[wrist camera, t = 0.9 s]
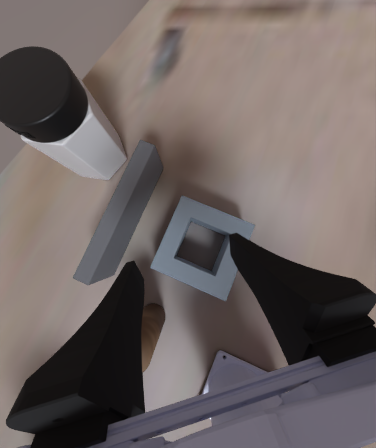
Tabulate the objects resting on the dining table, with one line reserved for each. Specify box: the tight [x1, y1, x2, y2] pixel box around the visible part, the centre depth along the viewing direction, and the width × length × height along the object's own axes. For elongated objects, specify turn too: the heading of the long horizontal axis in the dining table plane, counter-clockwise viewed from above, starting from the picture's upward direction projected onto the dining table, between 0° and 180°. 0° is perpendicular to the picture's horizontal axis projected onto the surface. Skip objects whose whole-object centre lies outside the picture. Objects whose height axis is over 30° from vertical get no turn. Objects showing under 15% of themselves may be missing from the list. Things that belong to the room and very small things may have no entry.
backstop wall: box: [73, 140, 163, 285], centre depth 22 cm, size 2×18×6 cm, turn 157°
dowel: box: [141, 304, 165, 373], centre depth 19 cm, size 4×4×8 cm
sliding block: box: [150, 195, 255, 301], centre depth 22 cm, size 10×10×4 cm
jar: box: [0, 47, 127, 180], centre depth 20 cm, size 9×8×12 cm
